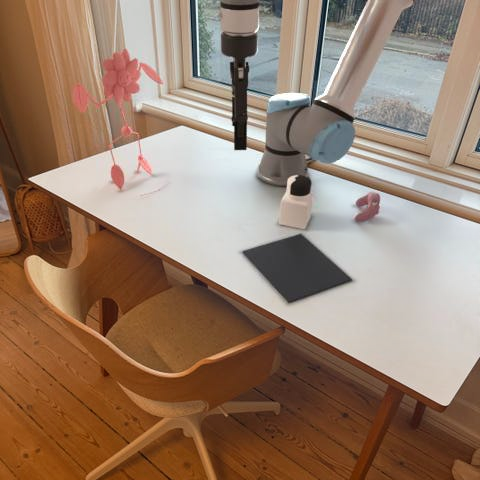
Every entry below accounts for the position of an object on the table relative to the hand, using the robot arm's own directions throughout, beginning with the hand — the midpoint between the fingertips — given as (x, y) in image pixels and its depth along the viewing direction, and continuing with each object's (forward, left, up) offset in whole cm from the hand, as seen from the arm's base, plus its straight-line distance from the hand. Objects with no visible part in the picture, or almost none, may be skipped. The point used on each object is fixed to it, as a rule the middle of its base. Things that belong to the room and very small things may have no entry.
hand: (239, 137), depth 108 cm
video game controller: (-33, +12, -23) cm, 42 cm away
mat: (-3, +23, -23) cm, 33 cm away
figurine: (+16, -31, -23) cm, 42 cm away
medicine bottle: (-14, +6, -23) cm, 27 cm away
